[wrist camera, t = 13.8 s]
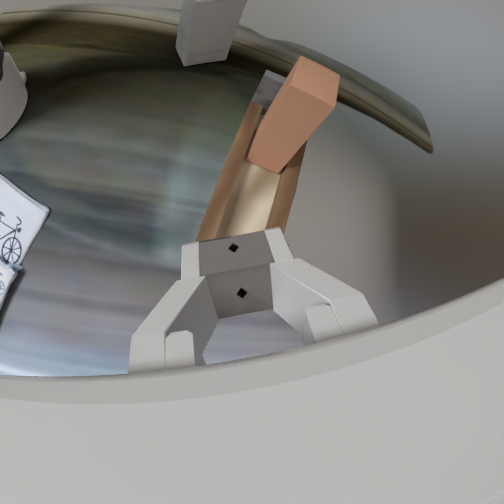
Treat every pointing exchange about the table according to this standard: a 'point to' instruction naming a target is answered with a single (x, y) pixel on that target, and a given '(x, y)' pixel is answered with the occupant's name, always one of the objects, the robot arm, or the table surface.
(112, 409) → the robot arm
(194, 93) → the table surface
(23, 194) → the folded bicycle print cloth
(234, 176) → the chute
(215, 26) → the skincare box
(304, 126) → the post
